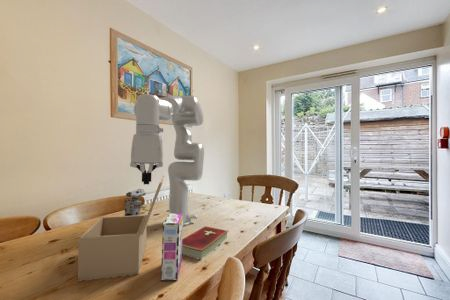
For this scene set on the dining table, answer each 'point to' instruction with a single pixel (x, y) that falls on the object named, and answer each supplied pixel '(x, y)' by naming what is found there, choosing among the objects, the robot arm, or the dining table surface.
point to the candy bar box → (172, 246)
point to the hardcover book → (203, 241)
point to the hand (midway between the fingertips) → (146, 183)
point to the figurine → (134, 202)
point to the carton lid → (152, 205)
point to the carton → (112, 248)
